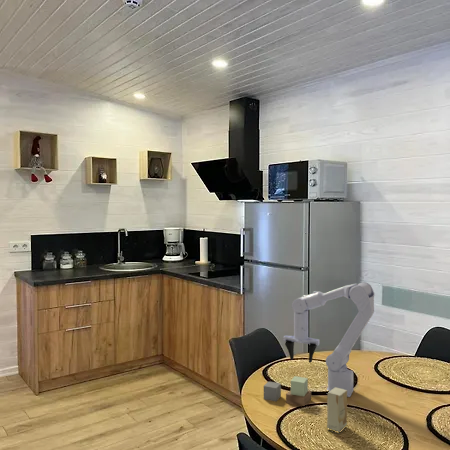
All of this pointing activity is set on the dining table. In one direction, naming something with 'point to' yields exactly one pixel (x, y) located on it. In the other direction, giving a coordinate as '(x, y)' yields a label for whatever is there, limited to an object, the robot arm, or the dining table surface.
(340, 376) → the robot arm
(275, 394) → the grey cube
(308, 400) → the walnut block
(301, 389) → the sage cube
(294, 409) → the dining table surface
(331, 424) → the skincare box
